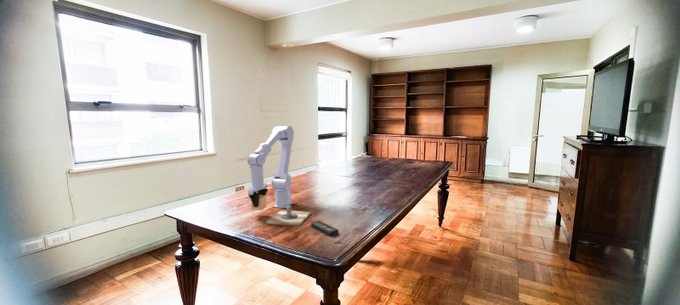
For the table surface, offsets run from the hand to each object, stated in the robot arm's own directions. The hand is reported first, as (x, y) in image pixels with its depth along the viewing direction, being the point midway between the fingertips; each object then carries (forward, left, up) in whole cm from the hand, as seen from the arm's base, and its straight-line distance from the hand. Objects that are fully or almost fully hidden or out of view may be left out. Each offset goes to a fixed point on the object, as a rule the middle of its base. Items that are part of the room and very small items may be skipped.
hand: (259, 205), depth 141 cm
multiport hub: (+10, +37, -6) cm, 39 cm away
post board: (0, +16, -6) cm, 17 cm away
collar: (0, 0, -2) cm, 2 cm away
